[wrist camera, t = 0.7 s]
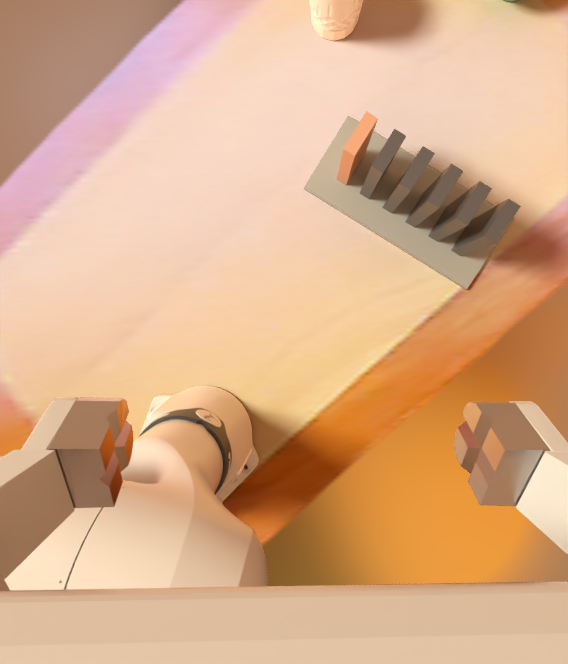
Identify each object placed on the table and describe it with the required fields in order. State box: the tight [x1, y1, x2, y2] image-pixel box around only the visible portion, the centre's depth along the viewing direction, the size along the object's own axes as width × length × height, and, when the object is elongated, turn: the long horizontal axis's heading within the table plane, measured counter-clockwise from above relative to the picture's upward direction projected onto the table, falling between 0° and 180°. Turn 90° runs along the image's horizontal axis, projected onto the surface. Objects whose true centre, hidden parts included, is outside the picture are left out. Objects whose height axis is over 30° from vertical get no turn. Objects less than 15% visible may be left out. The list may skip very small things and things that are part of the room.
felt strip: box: [304, 116, 514, 289], centre depth 63 cm, size 12×28×1 cm, turn 58°
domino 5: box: [428, 182, 492, 242], centre depth 56 cm, size 5×2×12 cm, turn 148°
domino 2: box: [359, 129, 406, 199], centre depth 57 cm, size 5×2×12 cm, turn 148°
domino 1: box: [337, 112, 378, 185], centre depth 57 cm, size 5×2×12 cm, turn 148°
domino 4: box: [405, 164, 463, 227], centre depth 56 cm, size 5×2×12 cm, turn 148°
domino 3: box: [382, 147, 435, 213], centre depth 56 cm, size 5×2×12 cm, turn 148°
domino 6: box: [451, 199, 520, 256], centre depth 56 cm, size 5×2×12 cm, turn 148°
